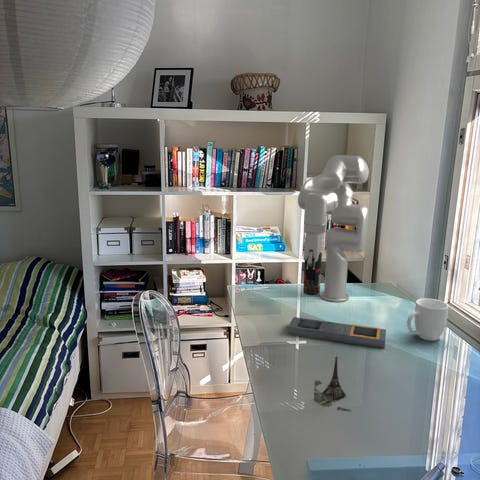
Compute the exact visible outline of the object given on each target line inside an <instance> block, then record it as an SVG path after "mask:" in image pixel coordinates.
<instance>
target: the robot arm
mask: <svg viewBox="0 0 480 480" xmlns="http://www.w3.org/2000/svg"><path fill="white" fill-rule="evenodd" d="M369 174H370V169H369V166H368V163H367V162H366V161H365V160H364V159H363V157H361V156H359V155H348V154H347V155H346V154H337V155H336V154H335V155H333V156H331V157H330V158H329V159H328V160H327V162H326V165H325V167H324V169H323V171H322V172H321V173H320V174H318V175H315V176H313V177H311V178H309V179H308V180H306V181H305V182H304V183H303V185H302V187H301V189H300V191H299V192H298V193H299V194H298V196H297V204H298V207H299V208H300V209H302V210H304V221H303V233H304V234H305V240H304V250H303V261H304V262H305V261H306V260H307V259H308V262H307V270H306V280H315V275H316V269H315V264H316V261H318V257H319V254H320V253H322V244H323V243H322V242H323V235H324V236H325V237H324V239H325V250H326V252H325V254H326V255H325V270H324V271H325V273H324V286H323V287H324V289H323V290H324V291H322V292H320V294H319V295H320V298H321V299H323V300H325V301H328V302H334V303H342V302H347V301H349V300H350V295H349V294H348V293H347V280H348V266H349V259H348V256H347V254H346V253H345V252H352V253H353V252H354V253H362V252H364V251H365V250H366V246H367V239H368V231H369V230H368V228H369V219H370V218H369V217H370V216H369V214H370V213H369V208H368V207H367V206H366V205H363V204H358V203H357V204H356V203H353V196H354V191H353V189H352V188H351V186H350V185H349V184H360V185H361V184H365V183H366V182H367V180H368V179H369ZM327 213H330V220H331V223H332V224H333V225H339V226H346V227H355V228H356V229H352V228H351V229H350V228H342V227H332V228H329V229H328V230H327V231H326V229H327V225H326V224H327ZM314 258H315V259H314ZM312 259H314V261H312ZM313 263H314V264H313Z"/></svg>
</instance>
